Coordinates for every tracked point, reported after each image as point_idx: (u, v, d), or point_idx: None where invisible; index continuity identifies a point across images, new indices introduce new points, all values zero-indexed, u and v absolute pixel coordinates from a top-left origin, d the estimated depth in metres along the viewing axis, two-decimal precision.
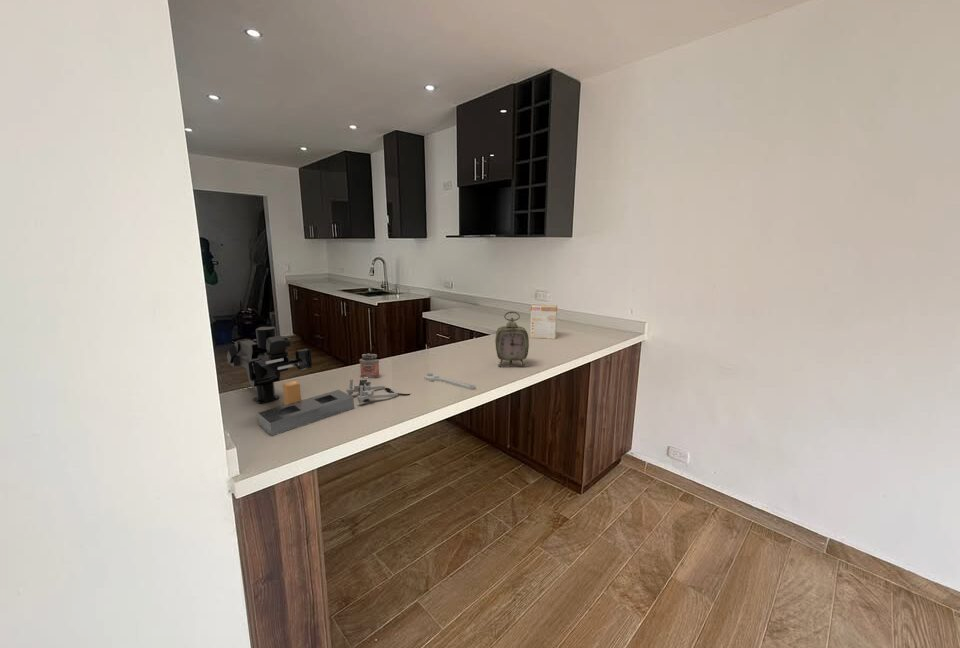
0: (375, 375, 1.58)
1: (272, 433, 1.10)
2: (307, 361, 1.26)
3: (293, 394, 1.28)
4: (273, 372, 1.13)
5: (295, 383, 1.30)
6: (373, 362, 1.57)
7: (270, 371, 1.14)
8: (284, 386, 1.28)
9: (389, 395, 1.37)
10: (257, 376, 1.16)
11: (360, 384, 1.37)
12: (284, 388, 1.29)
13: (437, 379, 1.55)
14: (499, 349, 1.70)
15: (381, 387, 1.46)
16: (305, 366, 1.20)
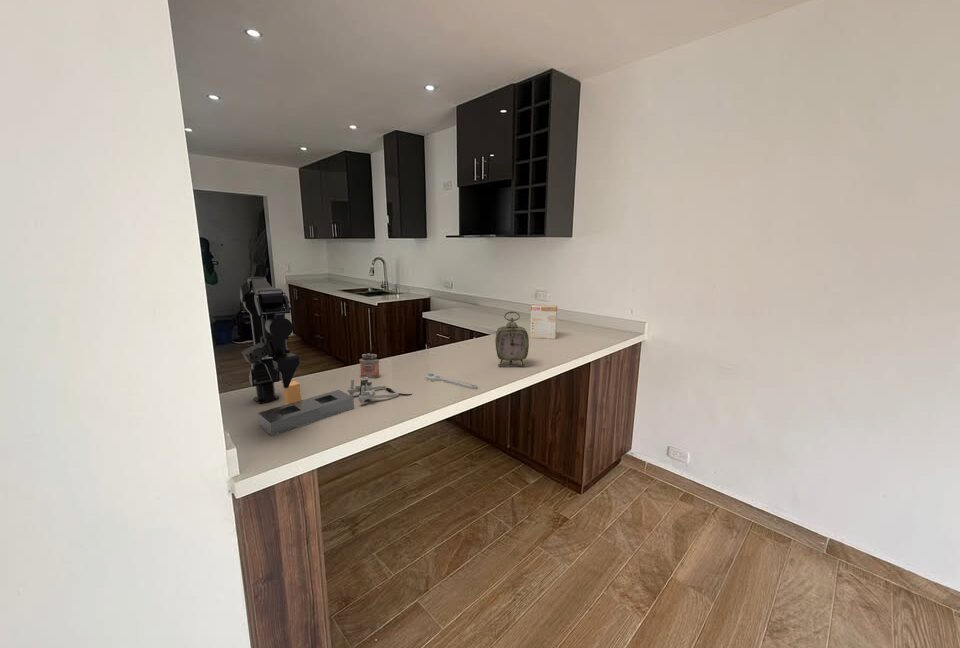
0: (375, 375, 1.58)
1: (272, 433, 1.10)
2: None
3: (293, 394, 1.28)
4: None
5: (295, 383, 1.30)
6: (373, 362, 1.57)
7: None
8: None
9: (390, 395, 1.37)
10: None
11: (361, 384, 1.37)
12: (284, 388, 1.29)
13: (438, 379, 1.55)
14: (499, 349, 1.70)
15: (382, 387, 1.46)
16: None
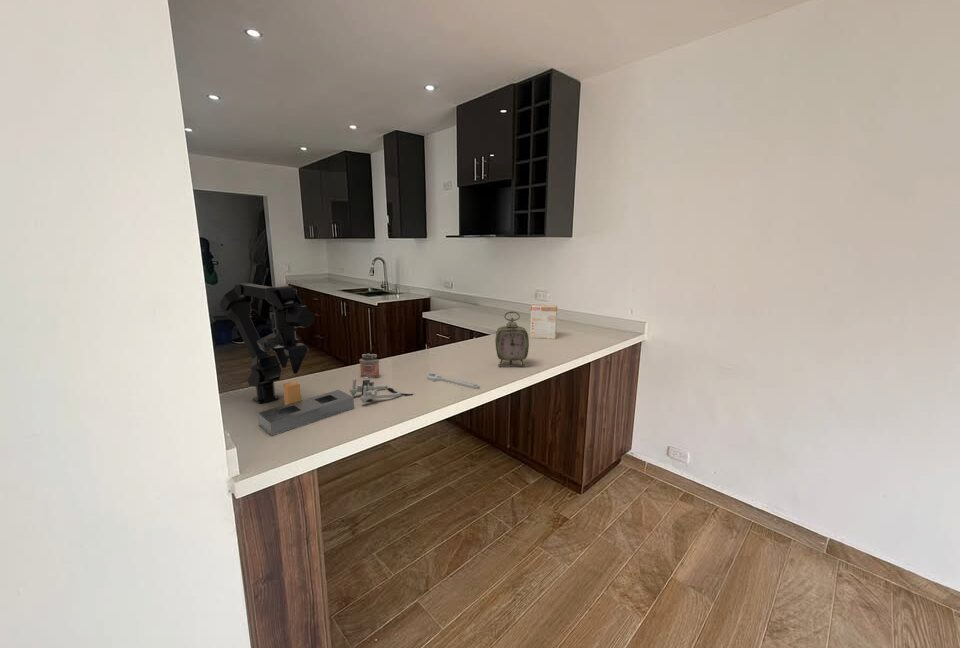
0: (375, 375, 1.58)
1: (272, 433, 1.10)
2: None
3: (293, 394, 1.28)
4: None
5: (295, 383, 1.30)
6: (373, 362, 1.57)
7: None
8: (284, 386, 1.28)
9: (392, 395, 1.37)
10: None
11: (363, 384, 1.37)
12: (284, 388, 1.29)
13: (440, 379, 1.55)
14: (499, 349, 1.70)
15: (384, 387, 1.46)
16: None
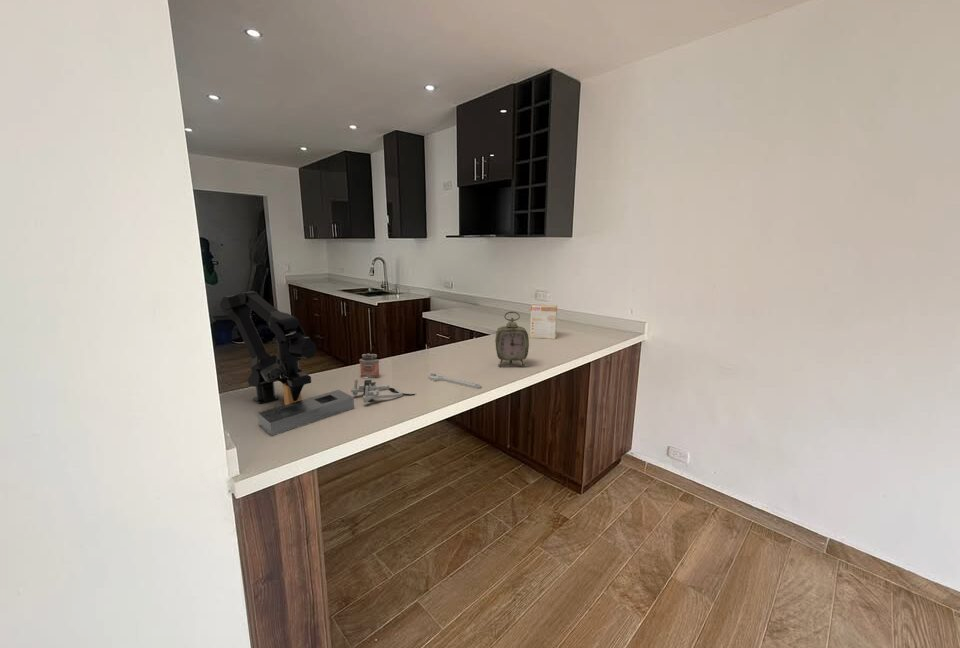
0: (375, 375, 1.58)
1: (272, 433, 1.10)
2: None
3: None
4: None
5: None
6: (373, 362, 1.57)
7: None
8: (284, 386, 1.28)
9: (394, 395, 1.37)
10: None
11: (365, 384, 1.37)
12: (284, 388, 1.29)
13: (441, 379, 1.56)
14: (499, 349, 1.70)
15: (385, 387, 1.46)
16: None
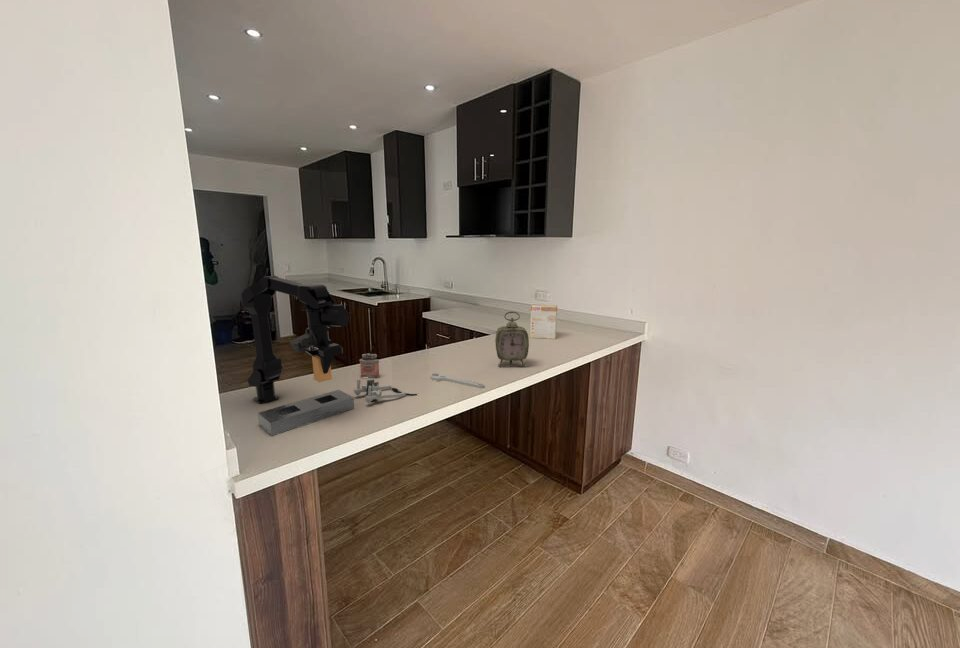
0: (375, 375, 1.58)
1: (272, 433, 1.10)
2: None
3: None
4: None
5: None
6: (373, 362, 1.57)
7: None
8: (314, 358, 1.23)
9: (397, 395, 1.37)
10: None
11: (368, 384, 1.36)
12: (314, 360, 1.23)
13: (444, 379, 1.56)
14: (499, 349, 1.70)
15: (388, 387, 1.46)
16: None
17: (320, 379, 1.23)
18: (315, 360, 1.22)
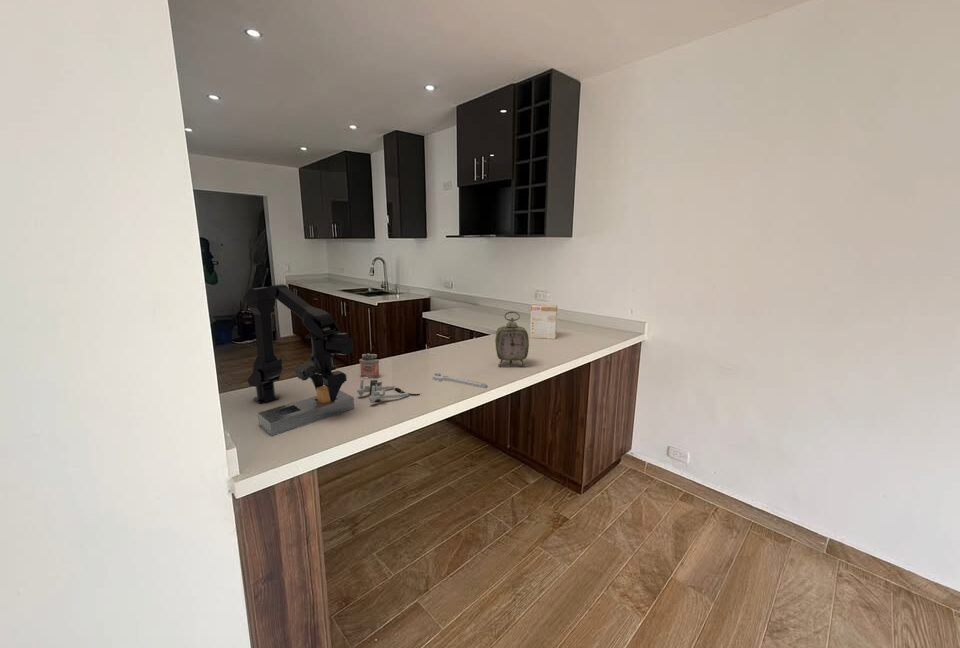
0: (375, 375, 1.58)
1: (272, 433, 1.10)
2: None
3: (328, 398, 1.25)
4: None
5: None
6: (373, 362, 1.57)
7: None
8: (318, 390, 1.25)
9: (400, 395, 1.37)
10: None
11: (371, 384, 1.36)
12: (318, 392, 1.25)
13: (446, 379, 1.56)
14: (499, 349, 1.70)
15: (391, 387, 1.46)
16: None
17: None
18: (319, 392, 1.24)
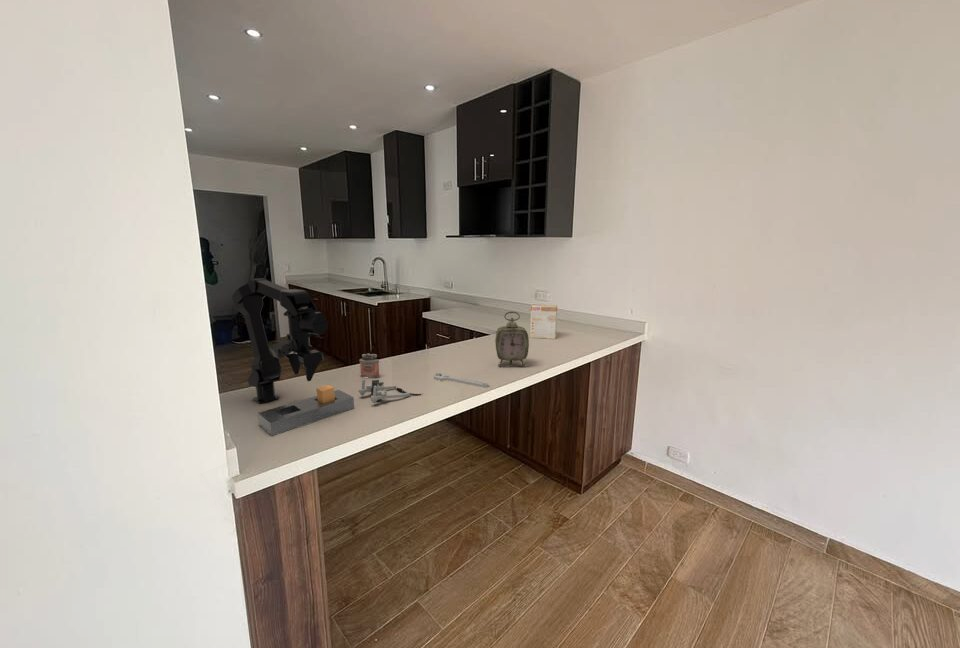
0: (375, 375, 1.58)
1: (272, 433, 1.10)
2: None
3: (328, 398, 1.25)
4: None
5: (329, 387, 1.26)
6: (373, 362, 1.57)
7: None
8: (318, 390, 1.25)
9: (402, 395, 1.37)
10: None
11: (373, 384, 1.36)
12: (318, 392, 1.25)
13: (447, 378, 1.56)
14: (499, 349, 1.70)
15: (392, 387, 1.46)
16: None
17: None
18: (319, 392, 1.24)
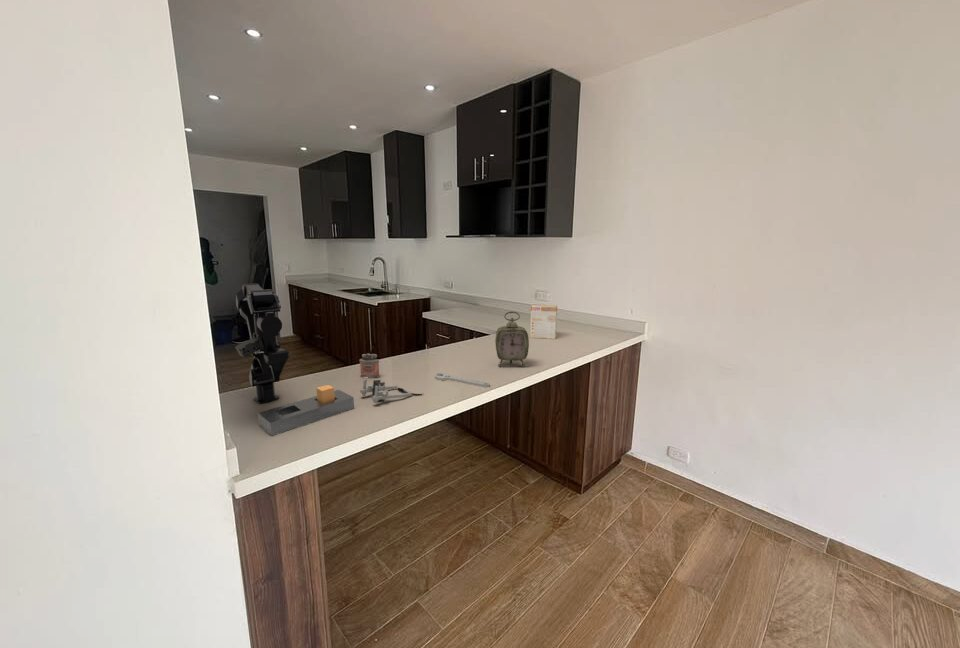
0: (375, 375, 1.58)
1: (272, 433, 1.10)
2: None
3: (328, 398, 1.25)
4: None
5: (329, 387, 1.26)
6: (373, 362, 1.57)
7: None
8: (318, 390, 1.25)
9: (403, 395, 1.37)
10: None
11: (374, 384, 1.36)
12: (318, 392, 1.25)
13: (449, 378, 1.56)
14: (499, 349, 1.70)
15: (394, 387, 1.46)
16: None
17: None
18: (319, 392, 1.24)
